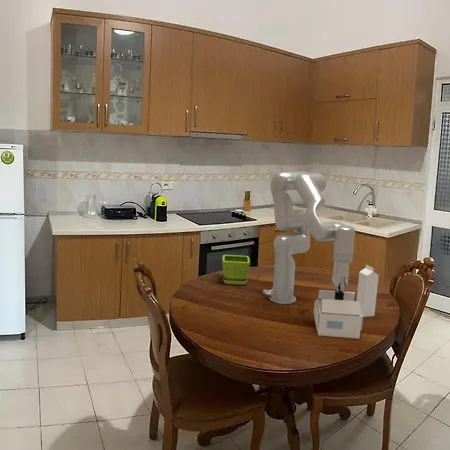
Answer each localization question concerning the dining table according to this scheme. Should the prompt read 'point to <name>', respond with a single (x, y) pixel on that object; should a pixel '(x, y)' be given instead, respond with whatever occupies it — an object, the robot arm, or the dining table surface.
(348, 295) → the flap far
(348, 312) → the flap near
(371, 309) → the milk
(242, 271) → the flower pot
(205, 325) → the dining table surface
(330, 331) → the carton
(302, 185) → the robot arm
